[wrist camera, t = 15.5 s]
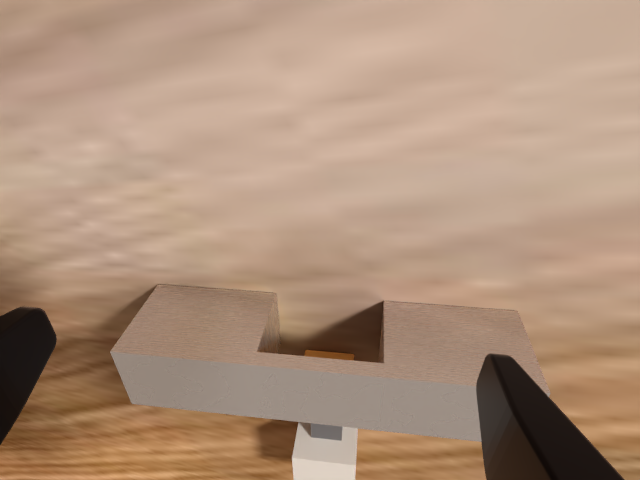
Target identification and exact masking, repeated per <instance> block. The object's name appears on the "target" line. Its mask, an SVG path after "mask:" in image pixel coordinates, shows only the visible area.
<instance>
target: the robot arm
mask: <svg viewBox="0 0 640 480" xmlns="http://www.w3.org/2000/svg"><path fill="white" fill-rule="evenodd" d="M55 345H56V334H55V332H54V330H53V327H52V325H51V323H50V321H49V319H48V317H47V315H46V313H45V311H44V310H42V309H40V308H34V307H19V308H16V309H14V310H12V311H10V312H8V313H6V314H4V315H2V316H0V445H1V443H2V442H3V440H4V439H5V437H6V435H7V434H8V432H9V431H10V429H11V428H12V426H13V424H14V423H15V421H16V420H17V418H18V416H19V415H20V413H21V411H22V409H23V407H24V406H25V404H26V402H27V400H28V398H29V396H30V394H31V392H32V390H33V388H34V386H35V384H36V383H37V381H38V379H39V377H40V375H41V373H42V371H43V369H44V367H45V365H46V363H47V361H48V359H49V357H50V356H51V354H52V352H53V350H54V348H55ZM476 395H477V404H478V413H479V423H480V432H481V441H482V450H483V459H484V467H485V474H486V479H487V480H624V479H623V477H622V476H621V475H620V474H619V473H618V472H617V471H616V470H615V469H614V468H613V467H612V465H611V464H610V463H609V462H608V461H607V460H606V459H605V458H604V457H603V456H602V455H601V453H600V452H599V451H598V450H597V449H596V448H595V447H594V446H593V445H592V444H591V442H590V441H589V440H588V439H587V438H586V437H585V436H584V435H583V434H582V433H581V432H580V430H579V429H578V428H577V427H576V426H575V425H574V424H573V423H572V422H571V421H570V420H569V418H568V417H567V416H566V415H565V414H564V413H563V412H562V411H561V410H560V409H559V408H558V406H557V405H556V404H555V403H554V402H553V401H552V400H551V399H550V398H549V397H548V396H547V394H546V393H545V392H544V391H543V390H542V389H541V388H540V387H539V386H538V385H537V384H536V382H535V381H534V380H533V379H532V378H531V377H530V376H529V375H528V374H527V373H526V371H525V370H524V369H523V368H522V367H521V366H520V365H519V364H518V363H517V362H516V361H515V359H514V358H512V357H511V356H509V355H504V354H494V353H490V354H488V355H487V356H486V357H485V360H484V362H483V365H482V368H481V371H480V374H479V376H478V379H477V384H476Z"/></svg>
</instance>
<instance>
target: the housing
mask: <svg viewBox="0 0 640 480" xmlns="http://www.w3.org/2000/svg"><path fill="white" fill-rule="evenodd" d="M280 344H281V341H280V331H279V320H278V309H277V298H276V293H267V292H253V291H240V290H226V289H213V288H199V287H185V286H172V285H157V287H156V288H155V289H154V291H153V292H152V294H151V295H150V296H149V298H148V299H147V301H146V302H145V303H144V305H143V306H142V308H141V309H140V310H139V312H138V313H137V315H136V316H135V317H134V319H133V320H132V322H131V323H130V324H129V326H128V327H127V329H126V330H125V331H124V333H123V334H122V336H121V337H120V338H119V340H118V341H117V343H116V344H115V345H114V347H113V348H112V350H111V351H110V353H111V355H112V358H113V360H114V363H115V365H116V367H117V370H118V372H119V374H120V377H121V379H122V382H123V384H124V386H125V389H126V391H127V394H128V396H129V398H130V401H131V403H132V404H138V405H148V406H157V407H166V408H175V409H185V410H194V411H203V412H212V413H221V414H231V415H240V416H249V417H258V418H267V419H277V420H286V421H295V422H304V423H314V424H323V425H332V426H341V427H350V428H360V429H369V430H378V431H387V432H396V433H406V434H415V435H424V436H433V437H442V438H452V439H461V440H470V441H479V442H482V441H481V432H480V423H479V413H478V404H477V395H476V384H477V379H478V376H479V374H480V371H481V368H482V365H483V362H484V360H485V357H486V356H487V355H488V354H490V353H494V354H504V355H509V356H511V357H512V358H514V359H515V361H516V362H517V363H518V364H519V365H520V366H521V367H522V368H523V369H524V370H525V371H526V373H527V374H528V375H529V376H530V377H531V378H532V379H533V380H534V381H535V382H536V384H537V385H538V386H539V387H540V388H541V389H542V390H543V391H544V392H545V393H546V394H547V396H548V397H549V395H550V391H549V388H548V386H547V383H546V381H545V378H544V376H543V373H542V371H541V368H540V366H539V363H538V361H537V358H536V355H535V353H534V350H533V348H532V345H531V343H530V340H529V338H528V335H527V333H526V330H525V328H524V325H523V323H522V320H521V318H520V315H519V313H518V311H511V310H497V309H484V308H470V307H457V306H443V305H430V304H416V303H402V302H389V301H384V304H383V315H382V325H381V336H380V347H379V363H375V362H364V361H353V360H342V359H330V358H319V357H308V356H297V355H286V354H278V351H279V347H280Z"/></svg>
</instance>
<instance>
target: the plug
mask: <svg viewBox="0 0 640 480" xmlns="http://www.w3.org/2000/svg"><path fill="white" fill-rule="evenodd" d="M304 356H308V357H319V358H330V359H342V360H353V361H354V354H347V353H336V352H325V351H314V350H305V355H304ZM357 434H358V428H350V427H341V426H332V425H323V424H314V423H304V422H298V428H297V433H296V439H295V444H294V449H293V455H292V464H293V476H294V480H355V470H356V453H357Z"/></svg>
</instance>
